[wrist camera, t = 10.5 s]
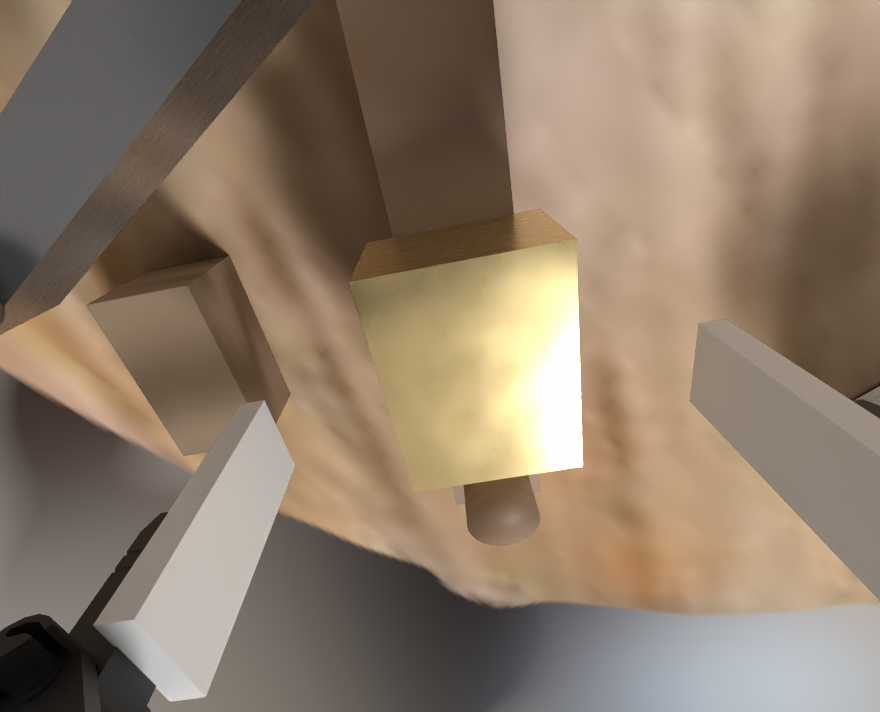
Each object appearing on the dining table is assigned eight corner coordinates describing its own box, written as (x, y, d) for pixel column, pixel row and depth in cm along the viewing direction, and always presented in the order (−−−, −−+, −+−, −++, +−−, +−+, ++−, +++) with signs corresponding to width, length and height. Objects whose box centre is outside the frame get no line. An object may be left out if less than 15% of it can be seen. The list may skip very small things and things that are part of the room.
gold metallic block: (367, 242, 15) (348, 282, 11) (540, 208, 14) (576, 238, 11) (416, 422, 19) (413, 492, 15) (553, 399, 18) (582, 466, 15)
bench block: (145, 272, 20) (86, 305, 17) (229, 255, 20) (187, 285, 16) (219, 406, 24) (183, 456, 21) (290, 394, 24) (266, 442, 20)
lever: (393, -405, 6) (354, -1008, 3) (517, -156, 7) (591, -375, 4) (-38, 235, 10) (-255, 291, 7) (87, 325, 11) (-47, 408, 8)
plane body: (344, -39, 15) (246, -223, 7) (463, -68, 15) (508, -296, 6) (451, 438, 26) (463, 587, 18) (521, 427, 25) (565, 573, 17)
